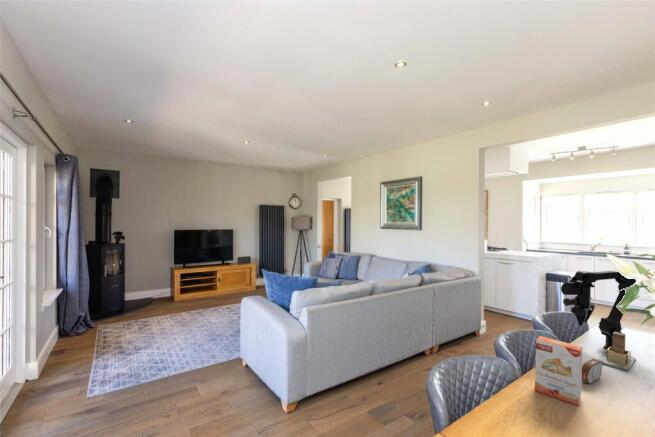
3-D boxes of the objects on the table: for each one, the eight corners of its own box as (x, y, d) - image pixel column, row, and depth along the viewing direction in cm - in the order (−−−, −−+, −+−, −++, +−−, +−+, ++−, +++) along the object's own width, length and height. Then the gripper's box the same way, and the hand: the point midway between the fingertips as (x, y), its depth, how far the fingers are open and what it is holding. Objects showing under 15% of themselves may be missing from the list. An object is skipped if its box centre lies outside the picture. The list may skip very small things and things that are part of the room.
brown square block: (613, 356, 155) (614, 331, 155) (624, 359, 152) (625, 334, 152) (612, 358, 152) (612, 333, 152) (623, 361, 149) (623, 335, 149)
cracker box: (534, 391, 124) (535, 339, 124) (537, 385, 128) (539, 335, 128) (579, 407, 114) (580, 350, 114) (581, 400, 118) (582, 345, 118)
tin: (594, 374, 138) (594, 355, 138) (603, 378, 135) (603, 358, 135) (579, 383, 130) (579, 363, 130) (588, 387, 128) (588, 366, 128)
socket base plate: (606, 351, 162) (606, 342, 162) (635, 359, 154) (636, 349, 154) (596, 362, 150) (597, 352, 150) (628, 371, 141) (628, 360, 141)
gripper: (570, 289, 178) (569, 316, 178) (559, 294, 167) (558, 323, 167) (595, 293, 169) (594, 322, 170) (586, 299, 158) (585, 329, 158)
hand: (582, 324), depth 166 cm, fingers open, 9 cm apart
